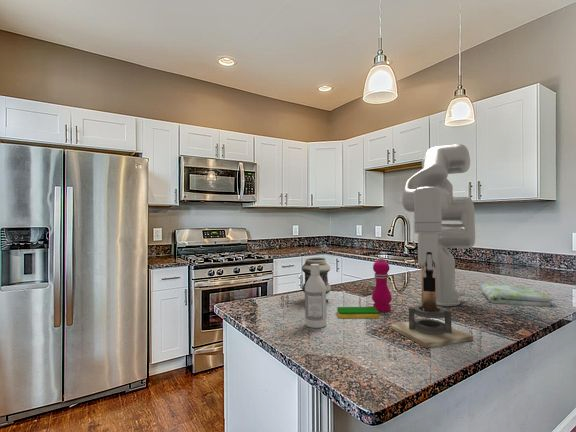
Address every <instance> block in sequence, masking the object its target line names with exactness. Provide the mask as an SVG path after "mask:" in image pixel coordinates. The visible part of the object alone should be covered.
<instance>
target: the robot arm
mask: <svg viewBox="0 0 576 432" xmlns="http://www.w3.org/2000/svg"><path fill="white" fill-rule="evenodd" d="M468 149H469V148H468V147H467V146H466V145H464V144H462V143H454V144H447V145H446V144H445V145H437V146H433V147H430V148H429V149H428V150H426V152H425V154H424V157H423V158H422V159H421V169H420V170H419V171H418V172H416V173H415V174H414V175H412V176H411V177H410V178H409V179H407V181H406V182H405V185H404V189H403V192H402V197H401V200H402V201H401V203H402V207H403V209H404V210H405V211H407V212H409V213H414V214H413V222H414V224H413V225H414V234H417V265H418V267H420V268H421V266H424V277H423V290H424V291H429V292H435V278H434V266H435V267H436V306H439V307H440V306H441V307H442V306H443V307H455V306H458V305H460V304H461V300H460V299H458V298H459V297H465V296H466V293H465V292H464V291H457V290H456V260H455V257H454V255H453V254H452V253H451V252H450V251H449V249H470V248H473V247H474V245H475V243H476V218H475V217H476V215H475V205H474V201H473V199H472V198H471V197H467V196H453V194H454V193H453V190H454V189H453V184H452V182H451V181H450V180H449V179H448V177H449V175H451V174H452V175H453V174H464V173H467V172H468V170H469V169H470V166H471V157H470V152H469V150H468ZM447 221H448V222H449V221H450V222H451V221H452V222H453V221H455V222H457V221H458V222H460V223H442V222H447ZM434 263H435V264H434ZM425 265H427V267H425ZM432 265H433V267H432Z"/></svg>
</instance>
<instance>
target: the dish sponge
mask: <svg viewBox="0 0 576 432" xmlns="http://www.w3.org/2000/svg"><path fill="white" fill-rule="evenodd" d="M336 312H337V316H338V318H339V319H379V318H380V314H379V313H380V311H377V309H376V308H375V307H373V306H338V307H337V309H336Z"/></svg>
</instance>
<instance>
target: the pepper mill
mask: <svg viewBox="0 0 576 432" xmlns="http://www.w3.org/2000/svg"><path fill="white" fill-rule="evenodd" d="M372 270H373V272H374V278H375V286H374V289H373V291H372V294H371V300H372V301H373V305H372V307H375V308H376V309H377V311H378V312H389V311H391V304H390V303H391V302H392V300H393V298H392V293H391V291H390V289H389V287H388V278H389V271H390V265H389V263H388V262H387V261H386V260H385V261H384V257H383V256H379V257H378V260H377V261H375V262H373V265H372Z"/></svg>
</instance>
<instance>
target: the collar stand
mask: <svg viewBox="0 0 576 432" xmlns="http://www.w3.org/2000/svg"><path fill="white" fill-rule="evenodd" d="M436 307H437V312H427V311H422V304H419V305H416V306H408V322H401V323H399V322H398V323H395V324H393V323H392V324H390V329H391V330H393V331H395V332H396V333H398V334H400V335H403V336H404V337H406V338H407V339H409V340H411V341H413V342H414V343H416V344H419V345H420V346H422V347H423V348H427V349H428V348H434V347H440V346H446V345H452V344H457V343H458V344H459V343H464V342H471V341H474V335H471V334H470V333H468V332H465V331H463V330H460V329H458V328H455V327H453V326H452V325H453V323H452V322H453V321H452V310H451V309H450V308H449V309H448V308H443V307H442V306H441V307H440V306H439V305H436ZM415 315H416V316H418V317H421V318H418V319H415ZM442 318H444V322H443V321H440V320H438V319H442Z"/></svg>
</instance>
